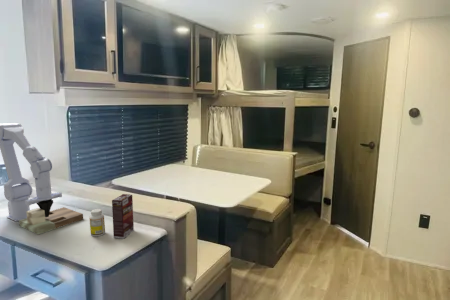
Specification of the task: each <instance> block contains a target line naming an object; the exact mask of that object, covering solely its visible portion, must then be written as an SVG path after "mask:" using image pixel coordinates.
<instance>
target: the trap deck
mask: <svg viewBox="0 0 450 300" xmlns="http://www.w3.org/2000/svg"><path fill="white" fill-rule="evenodd" d="M82 220H84V213H81V212H78V211H76V210H73V209H70V208H66V207H60V208H56V209H53V210H50V212H49V217H45V222H42V223H38V224H35V225H32V224H30V223H28V222H27V218H26V219H22V220H19V221H18V222H19V226H20V227H21V228H24V229H26V230H28V231H30V232H32V233H34V234H36V235H41V234H45V233H47V232H49V231H52V230H56V229H58V228H62V227H64V226H67V225H70V224H74V223H75V222H79V221H82Z"/></svg>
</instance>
